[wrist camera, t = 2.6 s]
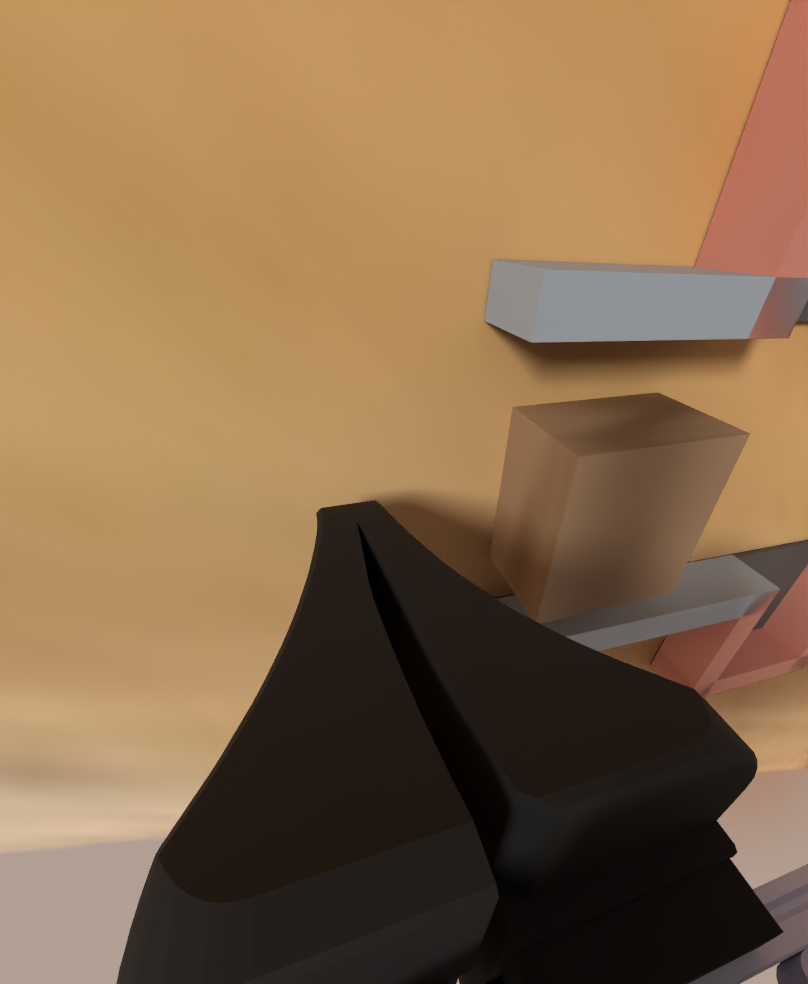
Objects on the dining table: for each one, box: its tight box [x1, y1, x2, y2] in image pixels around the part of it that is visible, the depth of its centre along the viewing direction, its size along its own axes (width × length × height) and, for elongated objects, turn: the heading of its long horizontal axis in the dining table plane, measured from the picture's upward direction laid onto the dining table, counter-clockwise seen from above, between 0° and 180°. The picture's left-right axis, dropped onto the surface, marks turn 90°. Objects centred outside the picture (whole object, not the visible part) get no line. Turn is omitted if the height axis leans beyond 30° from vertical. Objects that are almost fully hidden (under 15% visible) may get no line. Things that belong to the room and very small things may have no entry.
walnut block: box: [489, 393, 750, 624], centre depth 12 cm, size 4×5×3 cm
